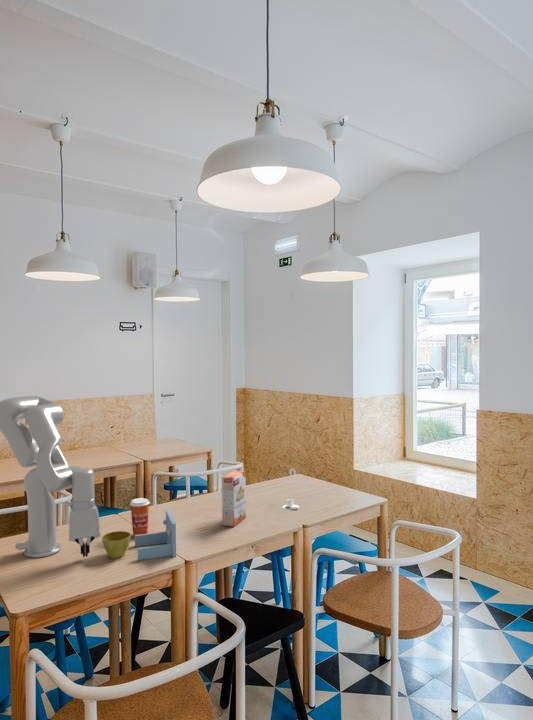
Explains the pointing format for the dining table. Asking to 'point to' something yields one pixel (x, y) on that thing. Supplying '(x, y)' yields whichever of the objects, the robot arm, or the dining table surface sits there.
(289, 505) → the white lobed knob
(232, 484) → the cracker box
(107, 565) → the dining table surface
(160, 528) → the dining table surface
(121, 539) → the flower pot
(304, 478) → the dining table surface
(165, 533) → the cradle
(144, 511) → the paper cup
